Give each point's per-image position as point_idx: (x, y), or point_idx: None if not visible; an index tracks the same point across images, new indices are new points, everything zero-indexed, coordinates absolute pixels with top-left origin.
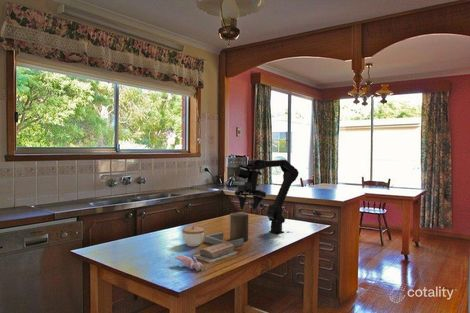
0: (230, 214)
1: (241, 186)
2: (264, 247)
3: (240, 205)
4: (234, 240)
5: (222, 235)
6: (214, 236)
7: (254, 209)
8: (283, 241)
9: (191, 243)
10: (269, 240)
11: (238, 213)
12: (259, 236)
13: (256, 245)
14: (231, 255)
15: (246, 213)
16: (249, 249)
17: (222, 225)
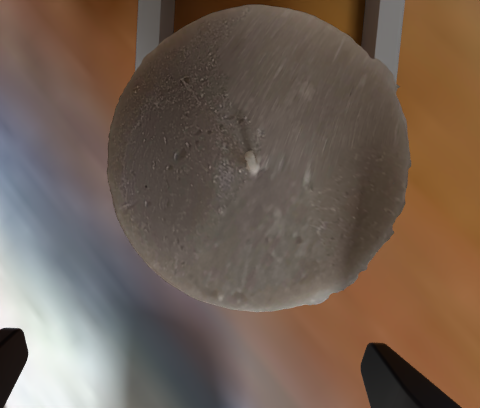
0: (355, 46)
1: None
2: (28, 156)
3: (444, 405)
4: (150, 5)
5: None
6: (373, 15)
7: (2, 357)
8: (31, 344)
9: None
10: (103, 302)
11: (278, 166)
12: (209, 335)
13: (87, 154)
14: None
15: (190, 268)
16: (61, 56)
17: None
